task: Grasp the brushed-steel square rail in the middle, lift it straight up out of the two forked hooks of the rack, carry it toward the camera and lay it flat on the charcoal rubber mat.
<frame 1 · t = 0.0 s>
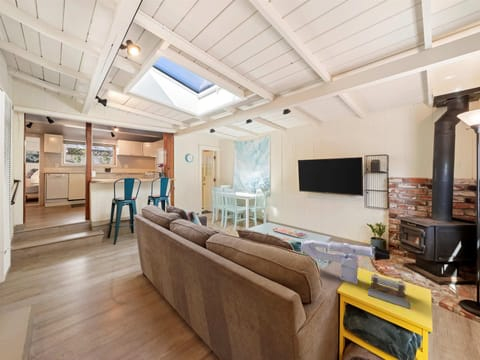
hand: (389, 255, 116), 22 cm above the table, tool horizontal, fingers open, 7 cm apart
rail: (387, 284, 117), point 3 cm above the table, touching rack
mat: (387, 298, 110), on the table
rack: (387, 290, 117), on the table
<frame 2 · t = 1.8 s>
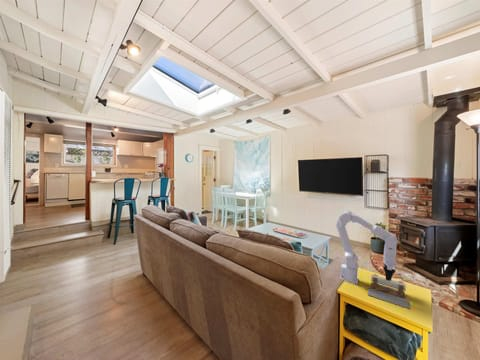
hand: (388, 277, 117), 8 cm above the table, tool pointing down, fingers open, 7 cm apart
nothing on the table moved.
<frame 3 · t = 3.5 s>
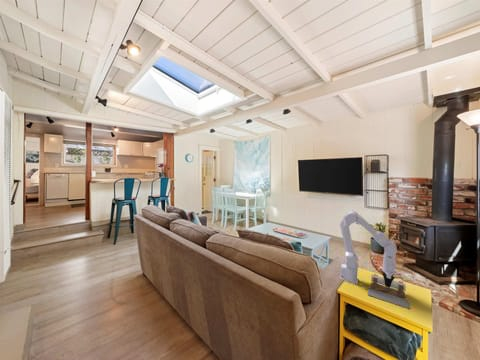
hand: (387, 285, 117), 3 cm above the table, tool pointing down, fingers closed on rail, 3 cm apart
rail: (387, 284, 117), point 3 cm above the table, touching gripper, rack
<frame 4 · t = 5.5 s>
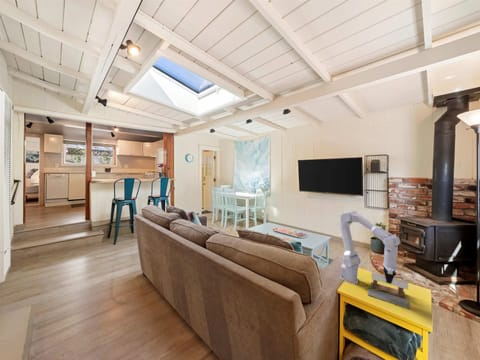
hand: (388, 281, 110), 9 cm above the table, tool pointing down, fingers closed on rail, 3 cm apart
rail: (388, 282, 110), point 9 cm above the table, touching gripper
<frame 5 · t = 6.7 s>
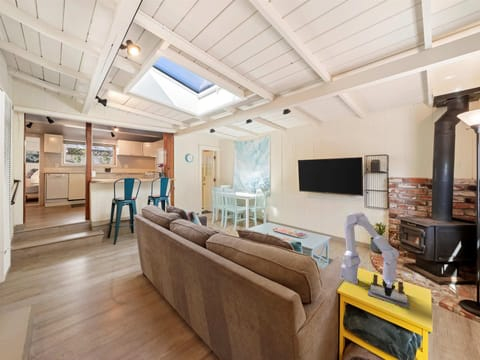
hand: (387, 294, 110), 2 cm above the table, tool pointing down, fingers closed on rail, 3 cm apart
rail: (387, 296, 110), point 1 cm above the table, touching gripper
when the fingers open (2 cm above the table, at t = 7.5 s): rail stays where it is, resting on mat.
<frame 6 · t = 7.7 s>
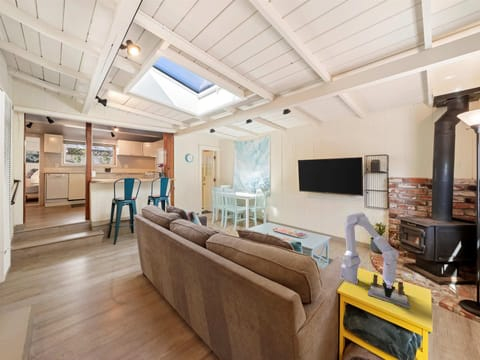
hand: (387, 294, 110), 2 cm above the table, tool pointing down, fingers open, 4 cm apart
rail: (387, 297, 110), resting on mat
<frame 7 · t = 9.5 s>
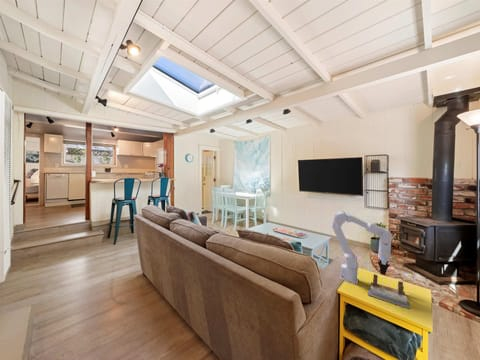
hand: (382, 271, 120), 10 cm above the table, tool pointing down, fingers open, 7 cm apart
nothing on the table moved.
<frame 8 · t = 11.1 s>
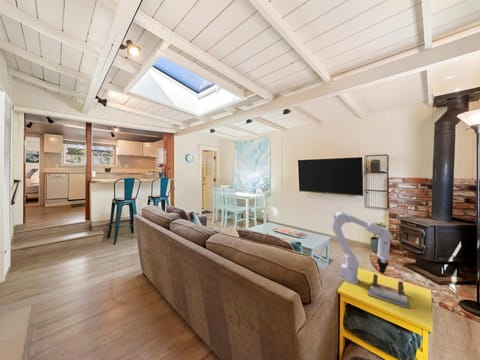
hand: (382, 270, 121), 10 cm above the table, tool pointing down, fingers open, 7 cm apart
nothing on the table moved.
at the end: rail 0.1 cm from the target spot, point 0.5 cm above the table; rail touching mat; the gripper is holding nothing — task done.
